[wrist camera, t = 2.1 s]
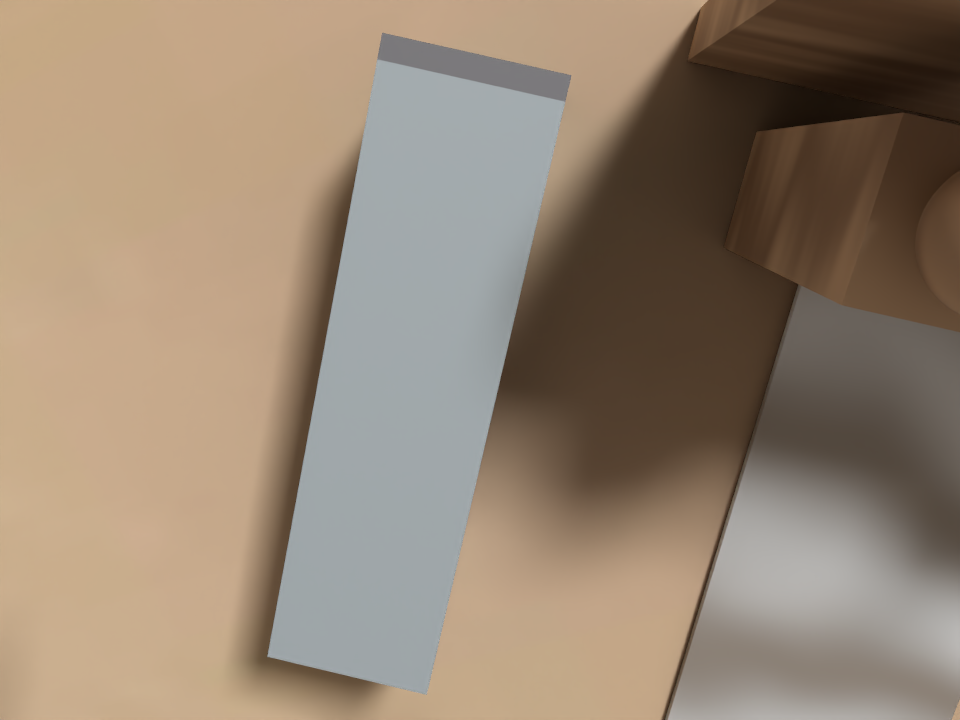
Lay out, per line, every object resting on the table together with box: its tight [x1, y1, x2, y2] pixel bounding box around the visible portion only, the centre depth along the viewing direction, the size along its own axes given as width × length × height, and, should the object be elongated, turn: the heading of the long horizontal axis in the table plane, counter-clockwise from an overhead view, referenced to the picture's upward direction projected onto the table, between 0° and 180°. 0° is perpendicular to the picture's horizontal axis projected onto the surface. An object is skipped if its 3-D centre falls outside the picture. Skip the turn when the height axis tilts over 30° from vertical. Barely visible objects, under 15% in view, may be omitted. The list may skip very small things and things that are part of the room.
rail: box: [267, 33, 571, 695], centre depth 25 cm, size 17×4×6 cm, turn 168°
